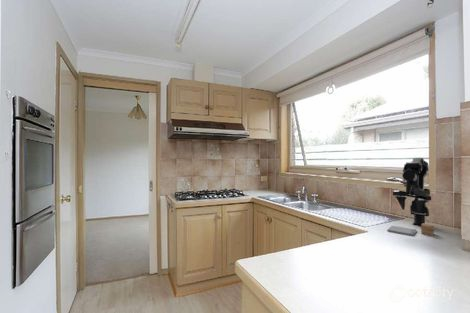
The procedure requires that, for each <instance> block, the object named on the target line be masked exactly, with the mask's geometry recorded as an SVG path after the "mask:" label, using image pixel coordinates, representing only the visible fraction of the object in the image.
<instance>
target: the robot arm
mask: <svg viewBox="0 0 470 313" xmlns="http://www.w3.org/2000/svg"><path fill="white" fill-rule="evenodd" d="M403 165H404V166H403V169H402V175H401V176H402V178H403V180H405V184H404V187H405V190H404V191H403V190H393V192H392V196H394V198H396V199H397V202H398V204H399V206H400V208H401V210H403V211H405V208H406V200H407V197H408V198H414V199H413V200H411V204H410V206H409V209H410V215H412V216H413V223H412V225H415V226H420V227H421V224H422V223H425V224H426V217H430V211H429V207H428V206H427V203H429V202H430V201H432V196H431V195H430V194H431V190H430V189H429V188H425V178H426V176H427V175H428V173H429V170H430V166H429V162H427V161H425V159H424V157H414V158H413V159H412V161H406V162H405V164H403Z"/></svg>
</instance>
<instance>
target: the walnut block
mask: <svg viewBox="0 0 470 313" xmlns="http://www.w3.org/2000/svg"><path fill="white" fill-rule="evenodd" d="M434 227H435V226H434V224H431V223H430V224H429V223H426V222H425V223H422V224H421V226H420V228H421V229H420V230H421V231H420V232H421V234H422V235H427V236H432V237H433V236H434V234H435V230H434V229H435V228H434Z"/></svg>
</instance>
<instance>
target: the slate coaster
mask: <svg viewBox="0 0 470 313" xmlns="http://www.w3.org/2000/svg"><path fill="white" fill-rule="evenodd" d="M417 231H418V229H416V228H409V227H404V226H397V225H391V226H390V227H388V229H387V232H389V233H395V234H400V235H406V236H412V237H414V236H415V235H416V233H417Z"/></svg>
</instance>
